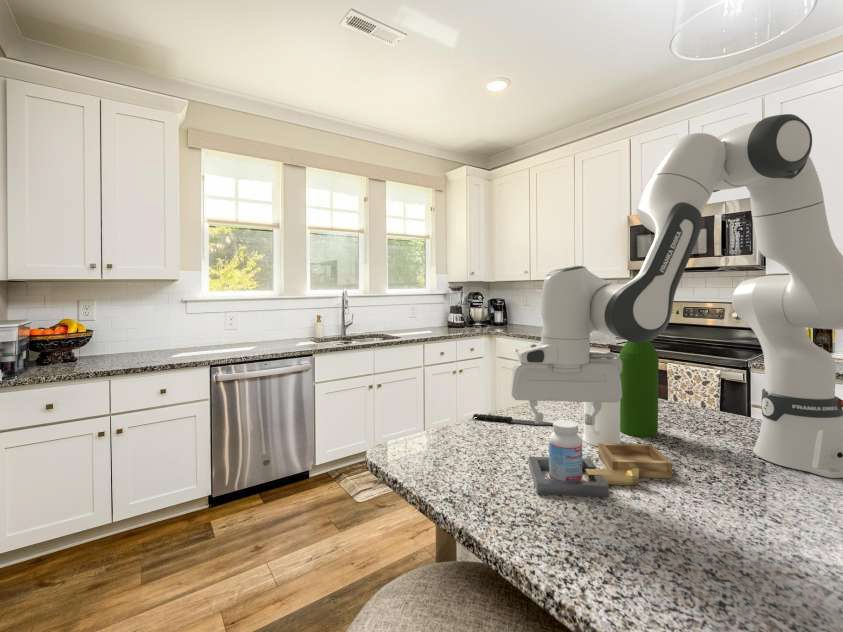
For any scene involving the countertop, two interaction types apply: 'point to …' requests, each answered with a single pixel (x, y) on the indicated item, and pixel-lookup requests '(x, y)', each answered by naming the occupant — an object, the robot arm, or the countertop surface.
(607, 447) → the tray
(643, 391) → the wine bottle
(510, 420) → the knife
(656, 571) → the countertop surface
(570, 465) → the pill bottle
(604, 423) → the mug
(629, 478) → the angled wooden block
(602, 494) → the socket
